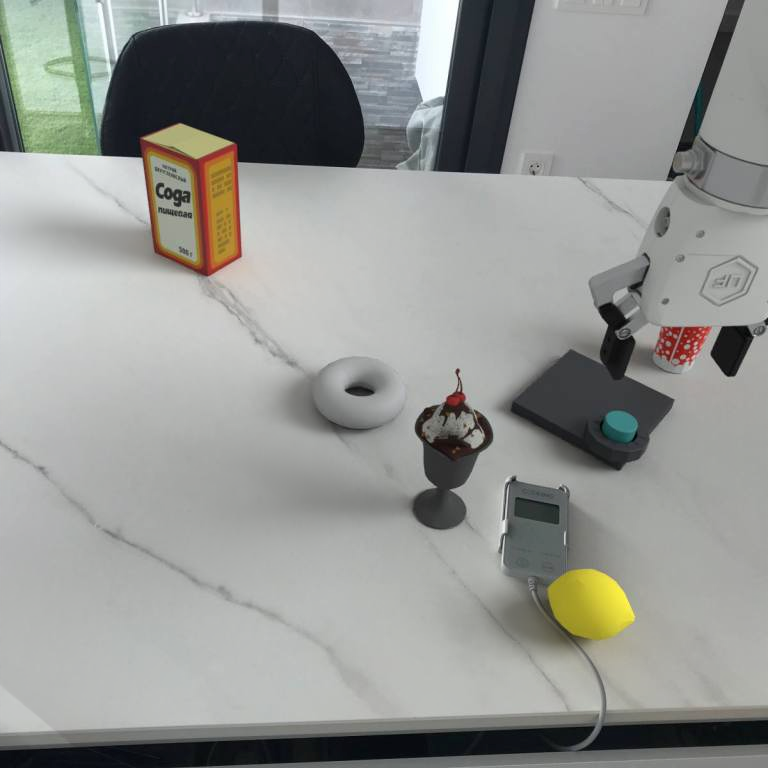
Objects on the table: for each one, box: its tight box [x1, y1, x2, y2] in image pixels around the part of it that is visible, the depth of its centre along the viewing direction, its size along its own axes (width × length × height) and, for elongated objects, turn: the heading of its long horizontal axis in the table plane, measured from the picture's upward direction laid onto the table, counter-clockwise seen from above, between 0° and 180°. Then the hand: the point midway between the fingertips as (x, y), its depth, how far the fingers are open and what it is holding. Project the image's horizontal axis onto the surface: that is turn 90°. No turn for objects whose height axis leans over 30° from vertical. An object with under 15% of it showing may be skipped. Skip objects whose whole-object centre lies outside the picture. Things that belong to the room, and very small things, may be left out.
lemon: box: [547, 568, 636, 642], centre depth 62 cm, size 7×5×5 cm
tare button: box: [602, 411, 638, 443], centre depth 78 cm, size 3×3×2 cm
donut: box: [311, 356, 408, 430], centre depth 81 cm, size 10×3×10 cm
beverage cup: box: [652, 326, 713, 375], centre depth 88 cm, size 6×6×14 cm
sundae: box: [413, 368, 494, 530], centre depth 67 cm, size 7×7×15 cm
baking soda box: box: [139, 122, 243, 277], centre depth 98 cm, size 10×6×16 cm
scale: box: [510, 348, 676, 471], centre depth 83 cm, size 14×14×3 cm
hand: (666, 367), depth 63 cm, fingers open, 9 cm apart
